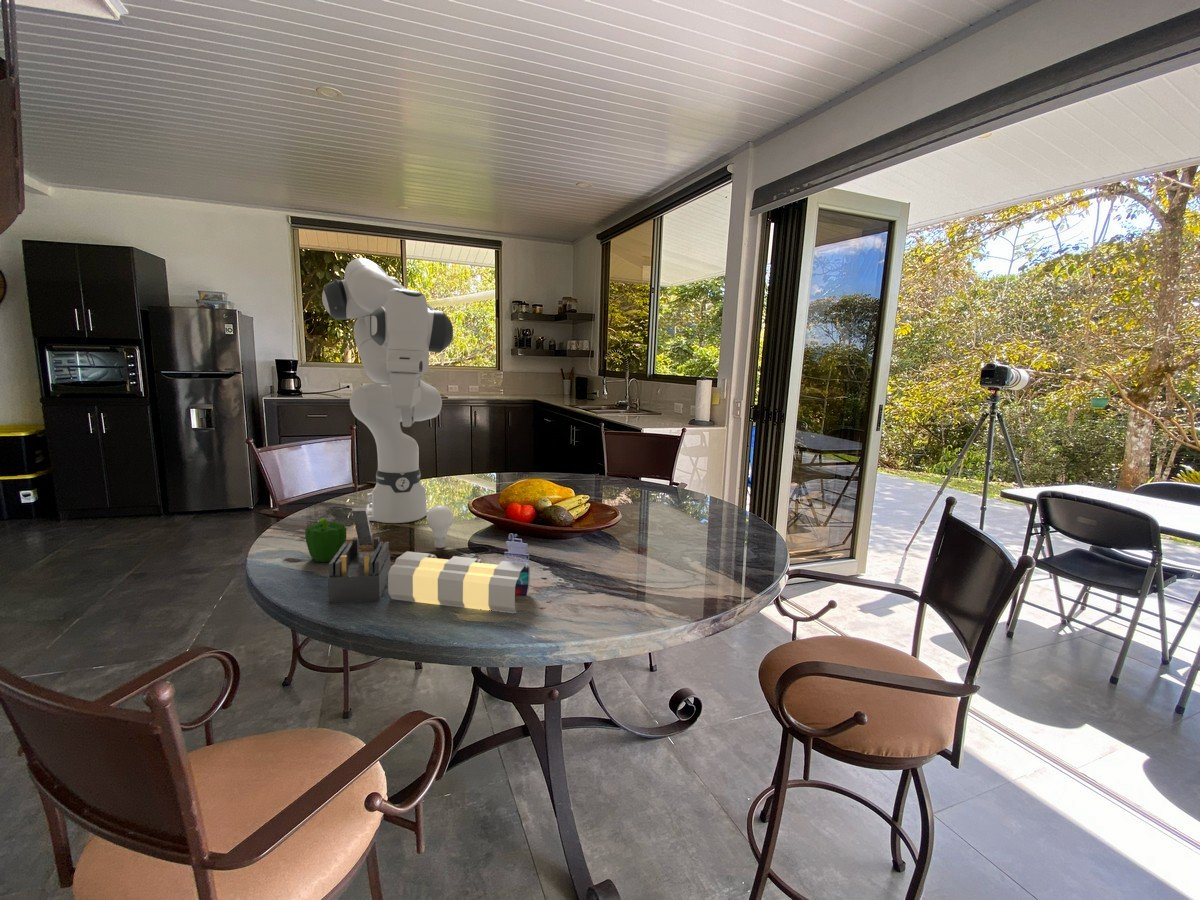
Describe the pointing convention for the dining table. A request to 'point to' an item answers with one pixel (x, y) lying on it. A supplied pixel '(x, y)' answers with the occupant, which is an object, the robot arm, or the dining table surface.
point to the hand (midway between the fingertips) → (408, 425)
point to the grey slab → (362, 526)
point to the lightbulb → (440, 523)
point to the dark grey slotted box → (358, 573)
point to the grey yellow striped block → (461, 580)
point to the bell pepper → (325, 539)
